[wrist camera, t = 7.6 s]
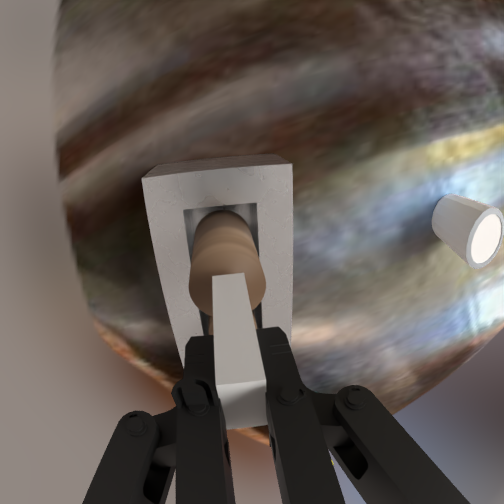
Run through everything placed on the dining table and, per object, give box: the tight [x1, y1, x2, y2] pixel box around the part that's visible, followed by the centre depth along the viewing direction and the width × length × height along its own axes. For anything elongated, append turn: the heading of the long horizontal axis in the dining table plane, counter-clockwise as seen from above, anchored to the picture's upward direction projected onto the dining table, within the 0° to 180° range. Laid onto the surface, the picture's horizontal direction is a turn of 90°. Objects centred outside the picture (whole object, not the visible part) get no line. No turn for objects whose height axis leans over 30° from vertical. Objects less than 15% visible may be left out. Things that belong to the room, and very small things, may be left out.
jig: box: [142, 154, 293, 368], centre depth 27 cm, size 26×10×6 cm, turn 3°
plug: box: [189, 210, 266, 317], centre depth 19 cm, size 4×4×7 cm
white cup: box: [432, 194, 504, 269], centre depth 26 cm, size 7×7×7 cm
